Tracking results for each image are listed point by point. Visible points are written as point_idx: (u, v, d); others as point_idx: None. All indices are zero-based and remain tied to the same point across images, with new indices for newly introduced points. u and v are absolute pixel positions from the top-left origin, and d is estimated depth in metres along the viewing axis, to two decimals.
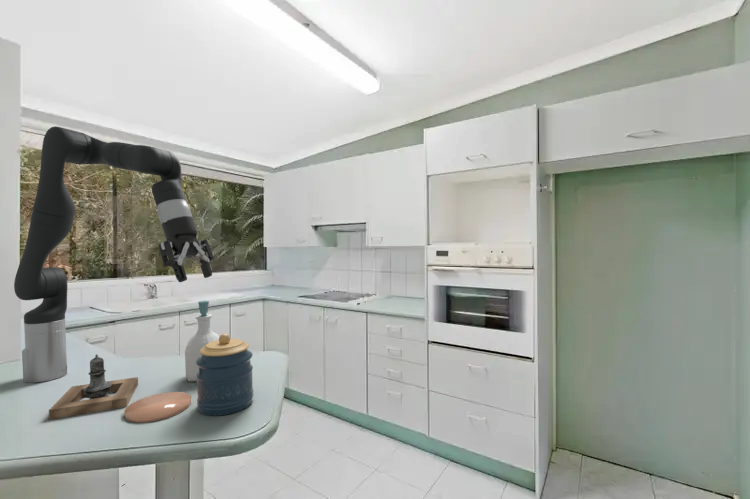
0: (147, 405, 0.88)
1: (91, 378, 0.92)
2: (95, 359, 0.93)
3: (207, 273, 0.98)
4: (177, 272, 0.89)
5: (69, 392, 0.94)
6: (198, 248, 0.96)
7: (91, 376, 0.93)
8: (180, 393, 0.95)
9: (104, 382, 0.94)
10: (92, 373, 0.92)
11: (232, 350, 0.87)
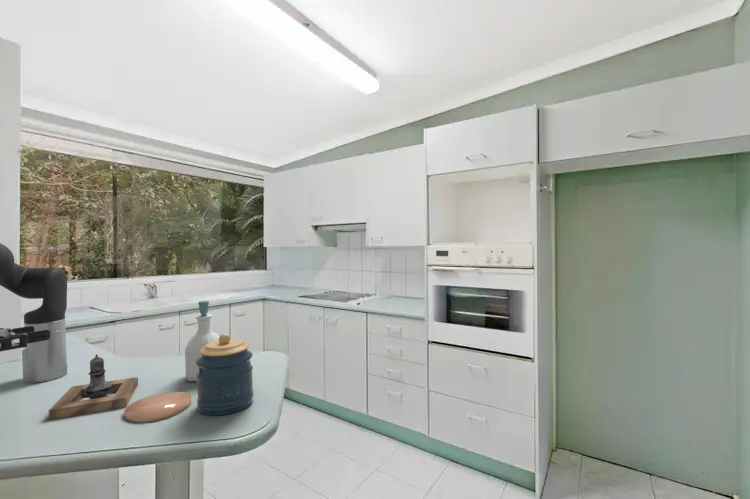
0: (147, 405, 0.88)
1: (91, 378, 0.92)
2: (95, 359, 0.93)
3: None
4: None
5: (69, 392, 0.94)
6: None
7: (91, 376, 0.93)
8: (180, 393, 0.95)
9: (104, 382, 0.94)
10: (92, 373, 0.92)
11: (232, 350, 0.87)
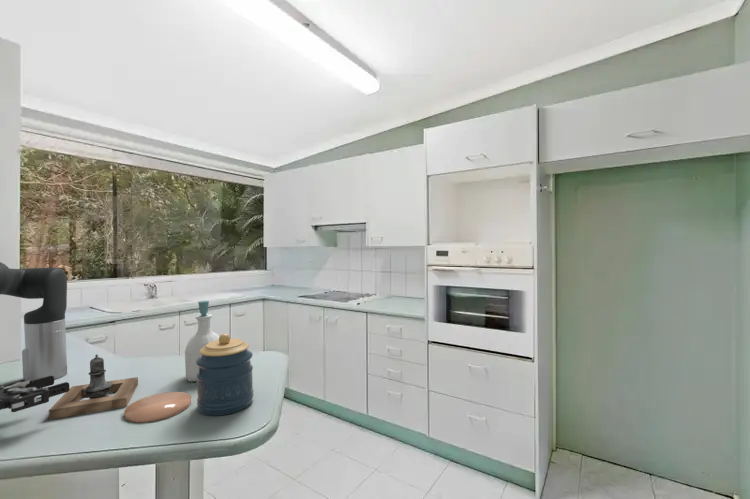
0: (147, 405, 0.88)
1: (91, 378, 0.92)
2: (95, 359, 0.93)
3: None
4: None
5: (69, 392, 0.94)
6: None
7: (91, 376, 0.93)
8: (180, 393, 0.95)
9: (104, 382, 0.94)
10: (92, 373, 0.92)
11: (232, 350, 0.87)
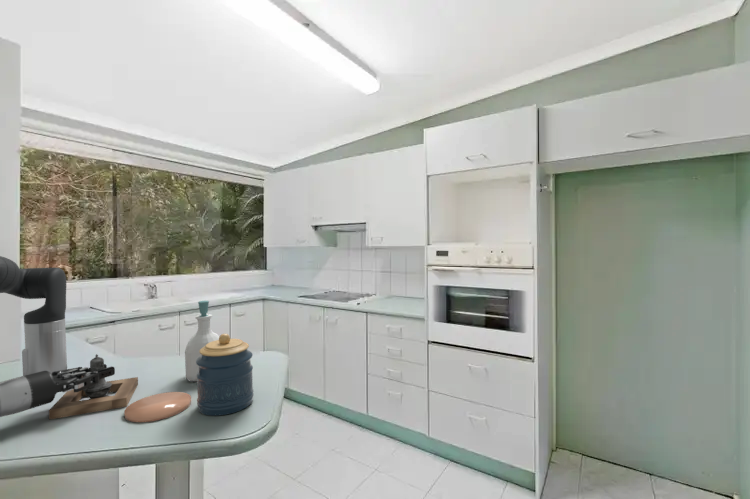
0: (147, 405, 0.88)
1: (91, 378, 0.92)
2: (95, 359, 0.93)
3: None
4: None
5: (69, 392, 0.94)
6: None
7: None
8: (180, 393, 0.95)
9: (104, 382, 0.94)
10: None
11: (232, 350, 0.87)
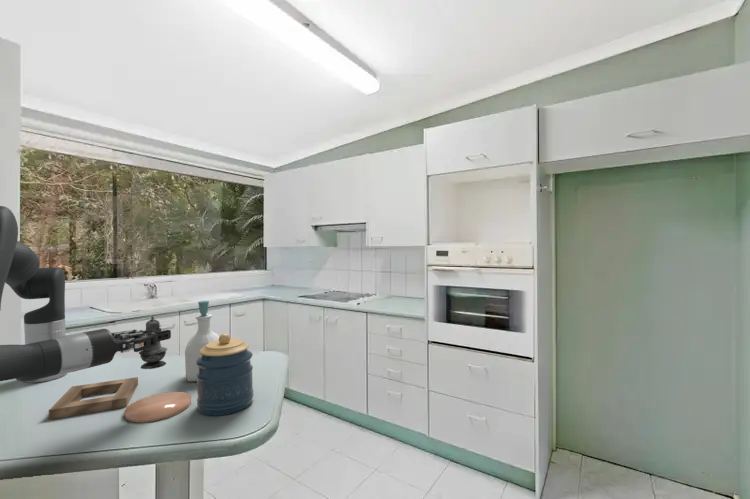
0: (147, 405, 0.88)
1: None
2: (151, 321, 0.88)
3: None
4: None
5: (69, 392, 0.94)
6: None
7: None
8: (180, 393, 0.95)
9: (160, 346, 0.88)
10: None
11: (232, 350, 0.87)
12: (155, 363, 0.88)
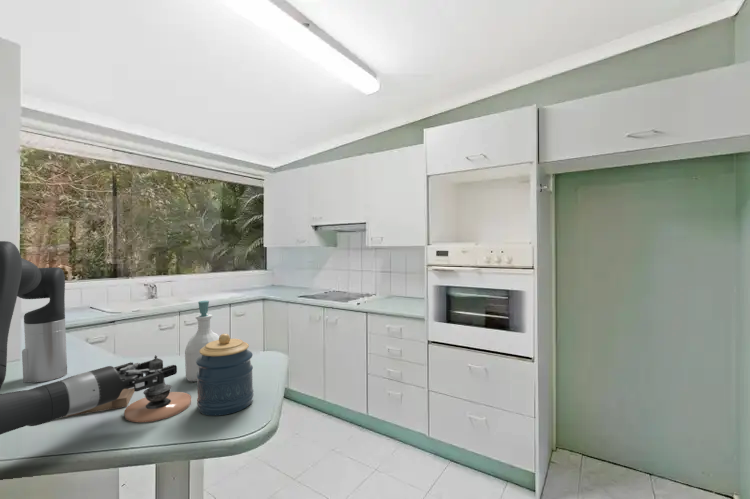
0: None
1: None
2: (155, 360, 0.88)
3: None
4: None
5: None
6: None
7: None
8: (180, 393, 0.95)
9: (164, 384, 0.89)
10: None
11: (232, 350, 0.87)
12: (160, 402, 0.88)
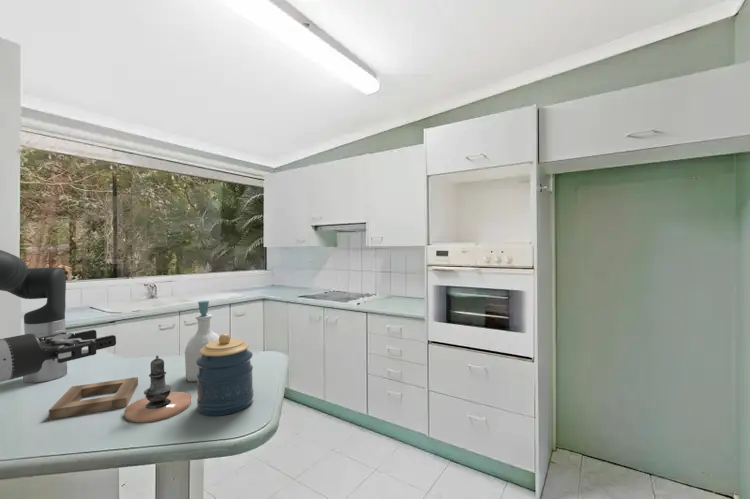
0: None
1: (152, 380, 0.87)
2: (156, 360, 0.88)
3: None
4: None
5: (69, 392, 0.94)
6: None
7: (152, 378, 0.87)
8: (180, 393, 0.95)
9: (165, 385, 0.89)
10: (153, 375, 0.87)
11: (232, 350, 0.87)
12: (160, 402, 0.88)
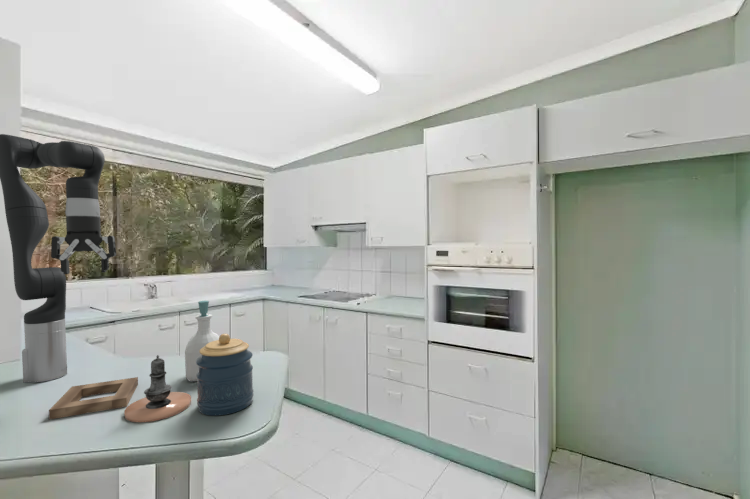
0: None
1: (152, 380, 0.87)
2: (156, 360, 0.88)
3: None
4: None
5: (69, 392, 0.94)
6: (92, 245, 1.02)
7: (152, 378, 0.88)
8: (180, 393, 0.95)
9: (165, 385, 0.89)
10: (153, 375, 0.87)
11: (232, 350, 0.87)
12: (160, 402, 0.88)
